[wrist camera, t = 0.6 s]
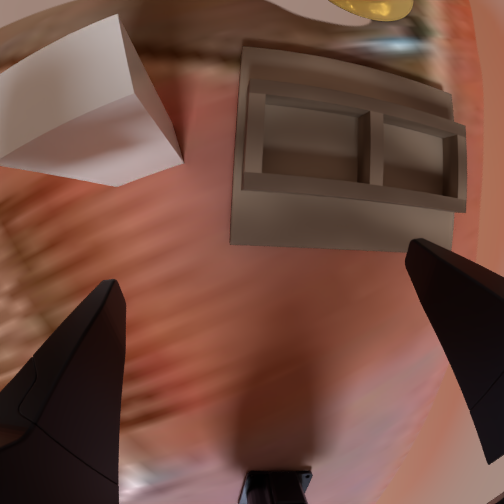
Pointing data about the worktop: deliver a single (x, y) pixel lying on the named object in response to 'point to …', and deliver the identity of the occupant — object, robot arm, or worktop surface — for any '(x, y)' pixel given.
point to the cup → (377, 8)
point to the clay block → (86, 110)
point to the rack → (342, 156)
